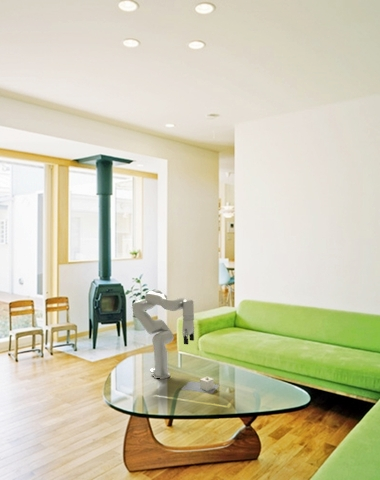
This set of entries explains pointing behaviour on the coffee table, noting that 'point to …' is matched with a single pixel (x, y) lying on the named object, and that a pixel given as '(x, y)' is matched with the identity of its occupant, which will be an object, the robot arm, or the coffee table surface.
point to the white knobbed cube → (206, 383)
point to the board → (198, 387)
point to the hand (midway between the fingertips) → (188, 342)
